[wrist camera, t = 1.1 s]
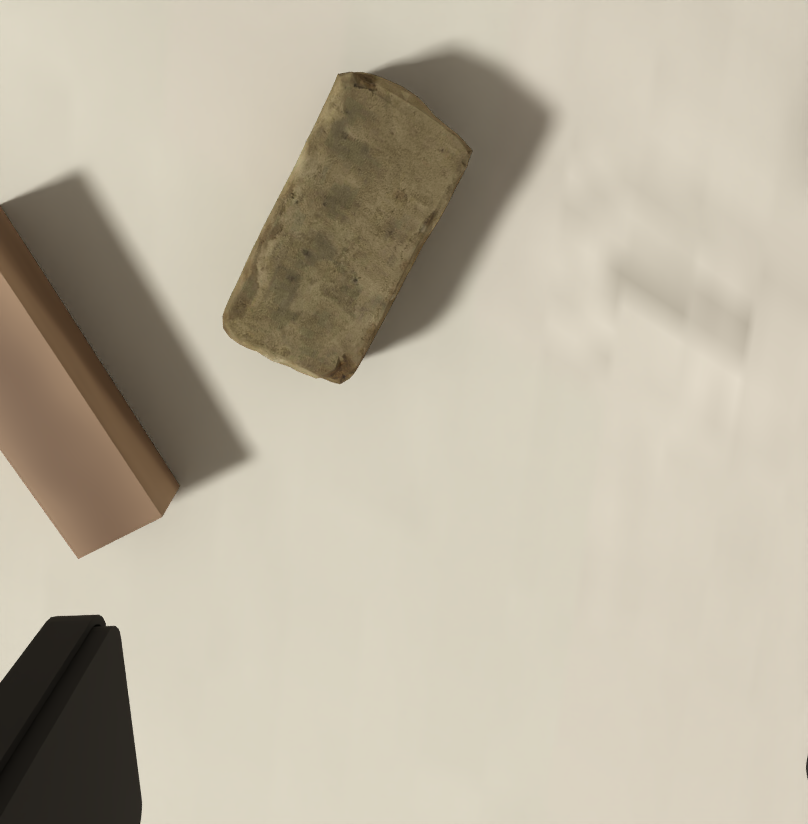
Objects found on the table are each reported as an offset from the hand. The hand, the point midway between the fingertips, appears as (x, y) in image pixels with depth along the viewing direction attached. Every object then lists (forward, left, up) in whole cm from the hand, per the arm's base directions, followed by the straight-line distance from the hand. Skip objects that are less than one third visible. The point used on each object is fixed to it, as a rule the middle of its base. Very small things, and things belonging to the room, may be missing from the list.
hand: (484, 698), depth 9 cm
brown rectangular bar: (+13, -6, -24) cm, 28 cm away
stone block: (-1, -5, -24) cm, 25 cm away
